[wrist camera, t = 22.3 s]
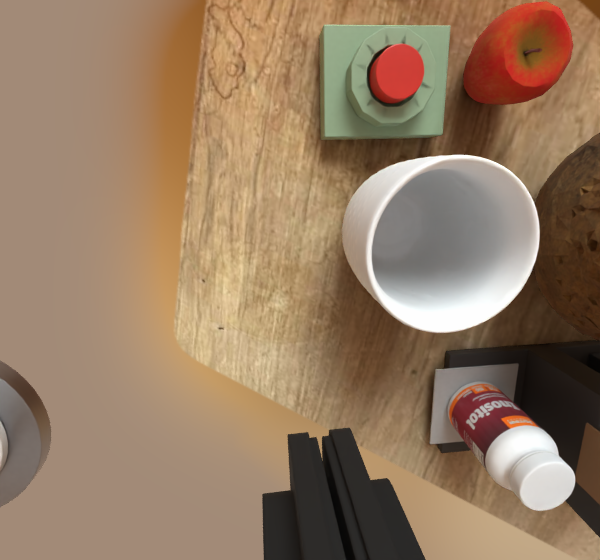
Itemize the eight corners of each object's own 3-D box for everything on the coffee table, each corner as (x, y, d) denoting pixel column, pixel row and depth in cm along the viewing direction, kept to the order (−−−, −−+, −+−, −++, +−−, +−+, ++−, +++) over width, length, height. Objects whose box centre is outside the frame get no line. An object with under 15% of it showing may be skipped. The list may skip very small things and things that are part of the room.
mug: (496, 214, 36) (623, 234, 23) (437, 313, 38) (524, 380, 25) (362, 139, 33) (425, 116, 20) (306, 251, 35) (332, 293, 22)
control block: (320, 139, 32) (328, 134, 28) (319, 34, 30) (327, 14, 26) (431, 137, 33) (453, 132, 29) (438, 35, 31) (462, 15, 27)
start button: (368, 104, 29) (374, 99, 27) (369, 51, 28) (376, 42, 26) (413, 103, 29) (423, 99, 27) (416, 51, 28) (426, 43, 26)
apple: (448, 33, 31) (504, -10, 24) (518, 34, 32) (593, -9, 24) (443, 115, 33) (493, 97, 26) (509, 114, 33) (577, 96, 26)
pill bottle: (490, 369, 39) (576, 441, 28) (507, 414, 40) (594, 497, 30) (436, 395, 39) (501, 476, 28) (455, 439, 41) (523, 530, 30)
